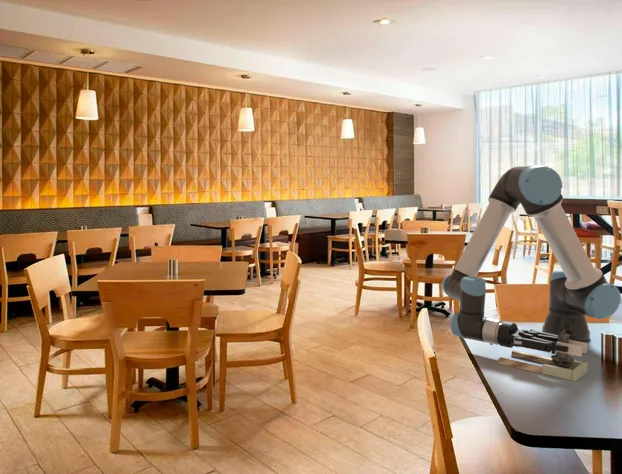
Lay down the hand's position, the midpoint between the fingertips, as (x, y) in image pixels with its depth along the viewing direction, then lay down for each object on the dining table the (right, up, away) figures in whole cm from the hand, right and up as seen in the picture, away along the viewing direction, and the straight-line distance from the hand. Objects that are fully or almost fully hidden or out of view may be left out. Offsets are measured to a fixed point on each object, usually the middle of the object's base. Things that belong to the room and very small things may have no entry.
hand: (583, 349), depth 151 cm
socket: (-4, -7, +4) cm, 9 cm away
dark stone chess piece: (-4, -7, +4) cm, 9 cm away
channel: (-11, -6, +11) cm, 17 cm away
